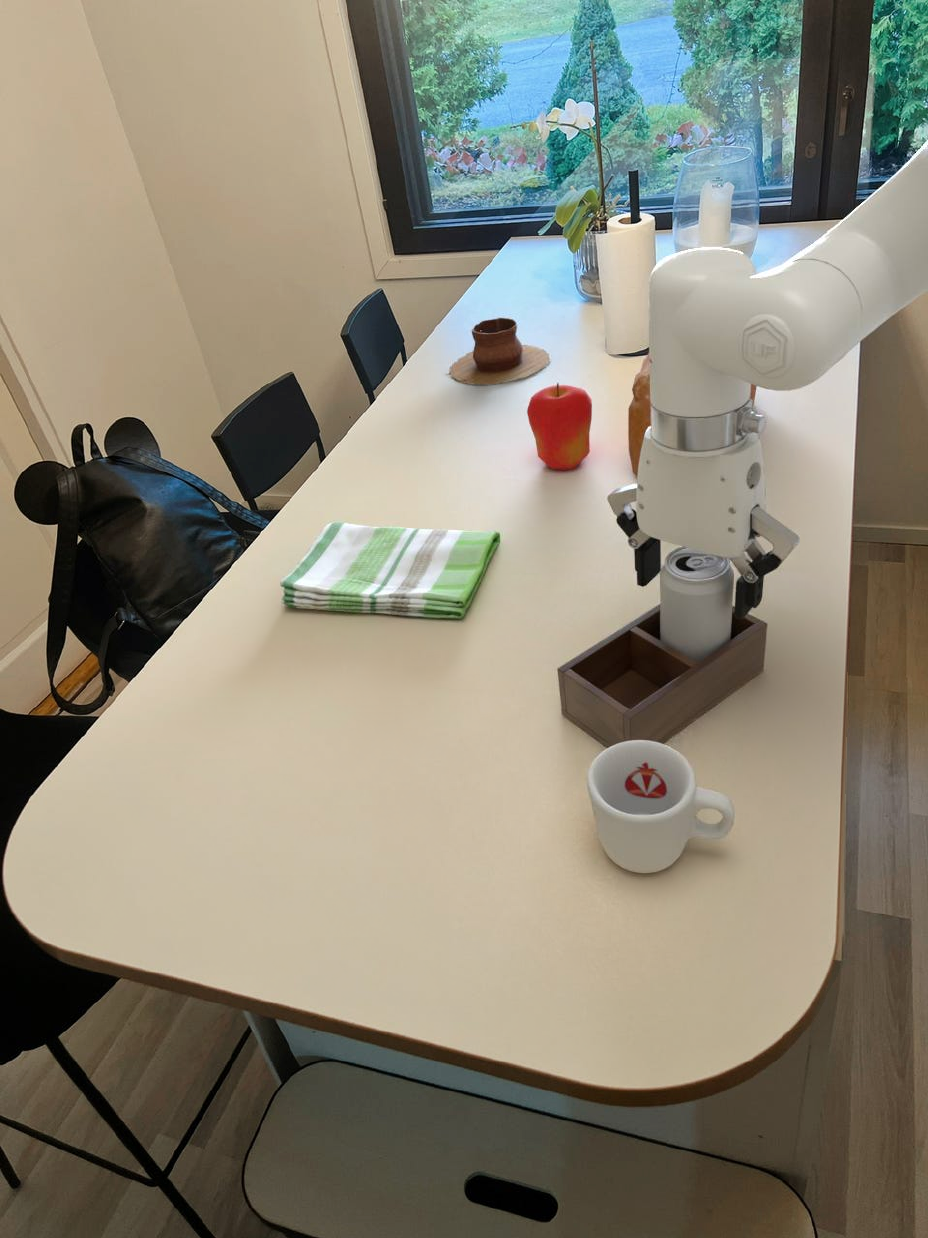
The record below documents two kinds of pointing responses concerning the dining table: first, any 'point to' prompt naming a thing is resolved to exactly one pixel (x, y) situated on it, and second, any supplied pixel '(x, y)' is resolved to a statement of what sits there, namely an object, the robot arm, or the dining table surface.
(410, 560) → the dish towel
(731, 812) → the cup
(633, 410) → the bread
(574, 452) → the apple
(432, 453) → the dining table surface
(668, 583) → the beverage can
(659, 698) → the wooden compartment box
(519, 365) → the ceramic pot
